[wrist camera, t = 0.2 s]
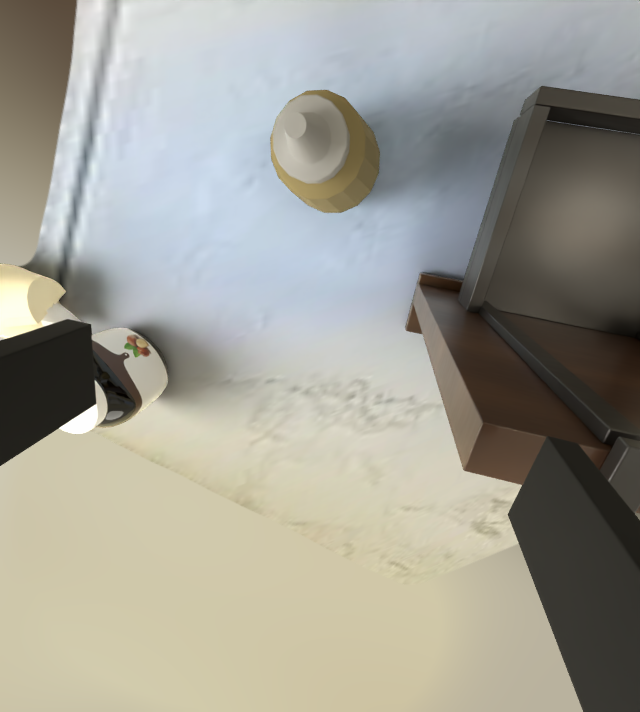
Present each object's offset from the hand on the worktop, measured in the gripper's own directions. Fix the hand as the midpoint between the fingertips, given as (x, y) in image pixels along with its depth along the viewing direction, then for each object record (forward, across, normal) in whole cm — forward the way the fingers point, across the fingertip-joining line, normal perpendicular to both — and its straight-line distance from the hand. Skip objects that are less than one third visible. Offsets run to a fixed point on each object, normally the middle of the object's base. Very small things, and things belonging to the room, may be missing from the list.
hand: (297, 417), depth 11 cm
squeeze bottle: (+30, -5, +9) cm, 32 cm away
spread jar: (+30, -28, -17) cm, 44 cm away
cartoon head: (+30, -40, -12) cm, 52 cm away
